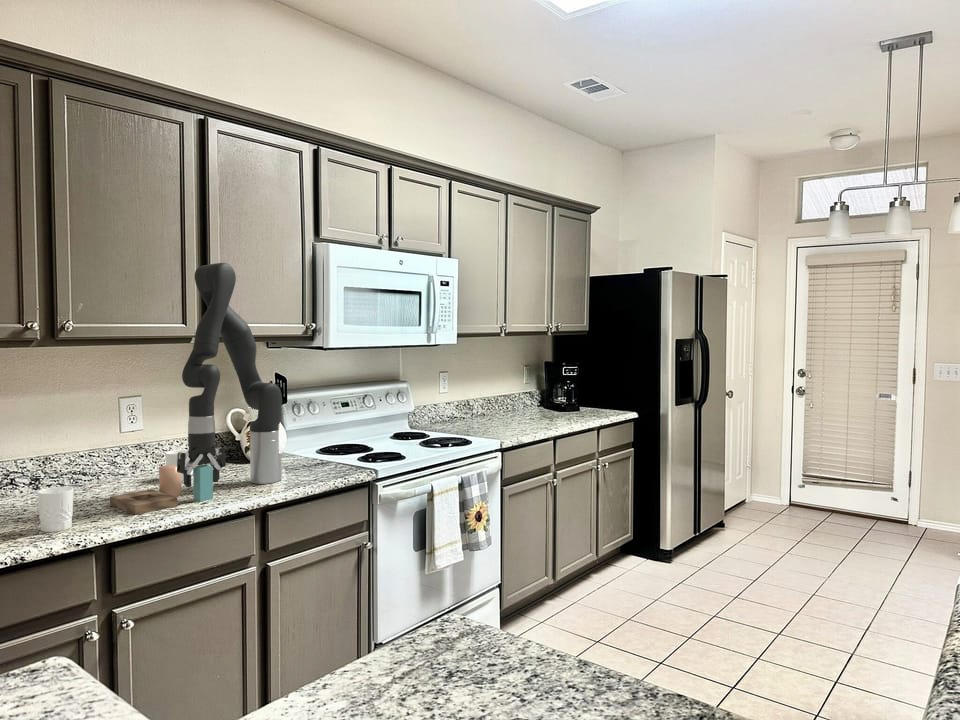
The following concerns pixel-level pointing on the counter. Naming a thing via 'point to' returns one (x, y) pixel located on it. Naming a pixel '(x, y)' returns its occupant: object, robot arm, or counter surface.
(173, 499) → the board
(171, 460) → the mug
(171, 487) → the round peg
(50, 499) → the white cup
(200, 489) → the square peg
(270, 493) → the counter surface
